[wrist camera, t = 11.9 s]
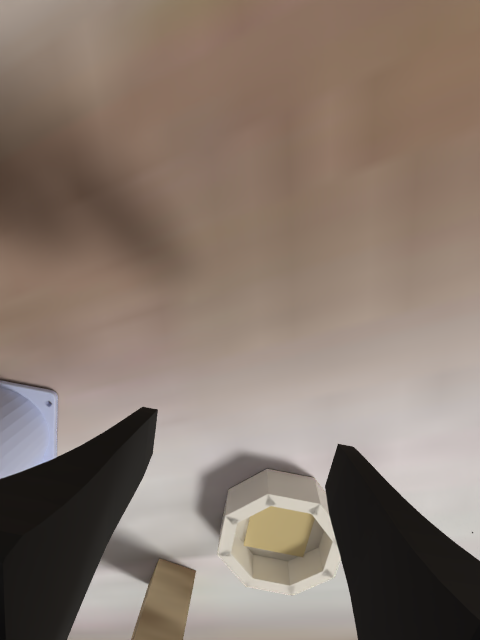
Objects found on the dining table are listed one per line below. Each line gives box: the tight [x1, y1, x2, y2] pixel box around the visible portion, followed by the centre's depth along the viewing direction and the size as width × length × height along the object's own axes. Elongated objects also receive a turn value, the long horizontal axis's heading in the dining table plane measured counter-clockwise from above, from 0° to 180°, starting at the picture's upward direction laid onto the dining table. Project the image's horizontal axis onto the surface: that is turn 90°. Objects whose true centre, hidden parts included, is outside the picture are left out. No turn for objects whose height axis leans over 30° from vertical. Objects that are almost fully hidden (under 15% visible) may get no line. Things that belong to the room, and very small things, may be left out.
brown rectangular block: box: [131, 558, 196, 640], centre depth 24 cm, size 4×4×8 cm
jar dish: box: [217, 469, 341, 596], centre depth 25 cm, size 9×9×2 cm
